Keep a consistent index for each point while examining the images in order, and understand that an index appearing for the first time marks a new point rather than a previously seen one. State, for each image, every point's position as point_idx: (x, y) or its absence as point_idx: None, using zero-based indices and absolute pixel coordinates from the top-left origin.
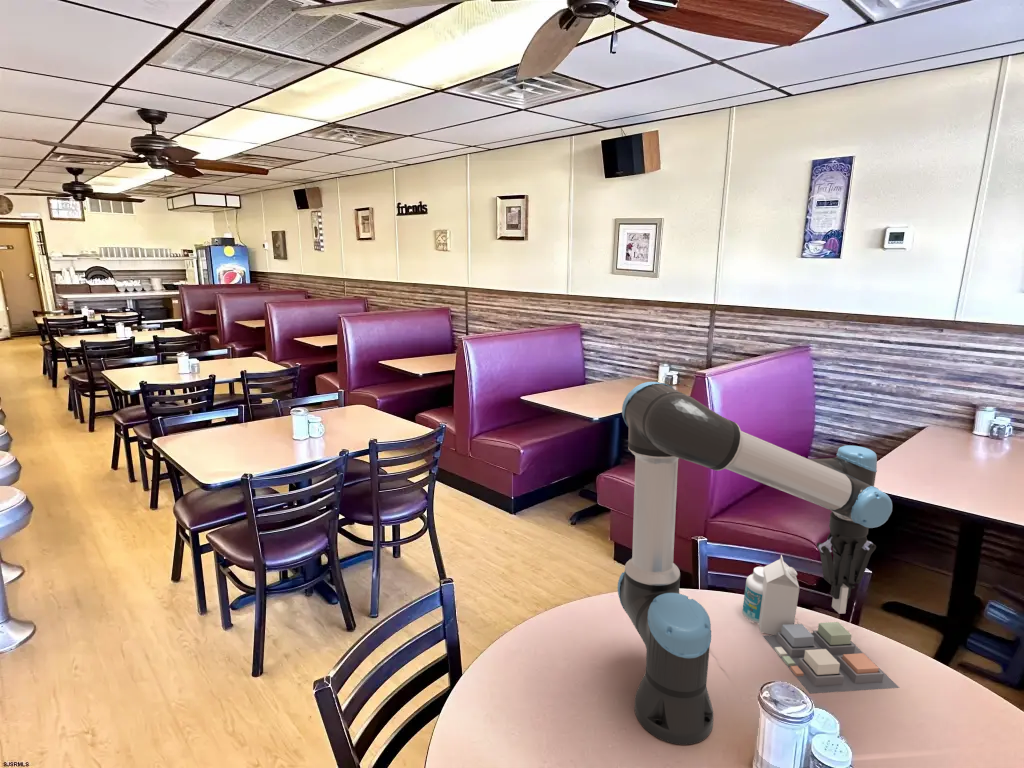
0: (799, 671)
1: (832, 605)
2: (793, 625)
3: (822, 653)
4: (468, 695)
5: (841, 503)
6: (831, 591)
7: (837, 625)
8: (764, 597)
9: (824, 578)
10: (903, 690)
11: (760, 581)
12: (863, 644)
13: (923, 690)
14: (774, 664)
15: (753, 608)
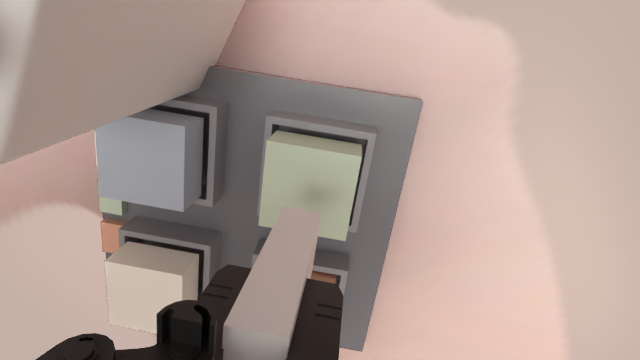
0: (115, 246)
1: (281, 214)
2: (140, 127)
3: (155, 289)
4: None
5: None
6: (206, 292)
7: (336, 178)
8: None
9: (56, 358)
10: (378, 341)
11: None
12: (455, 167)
13: (432, 355)
14: (87, 171)
15: None
